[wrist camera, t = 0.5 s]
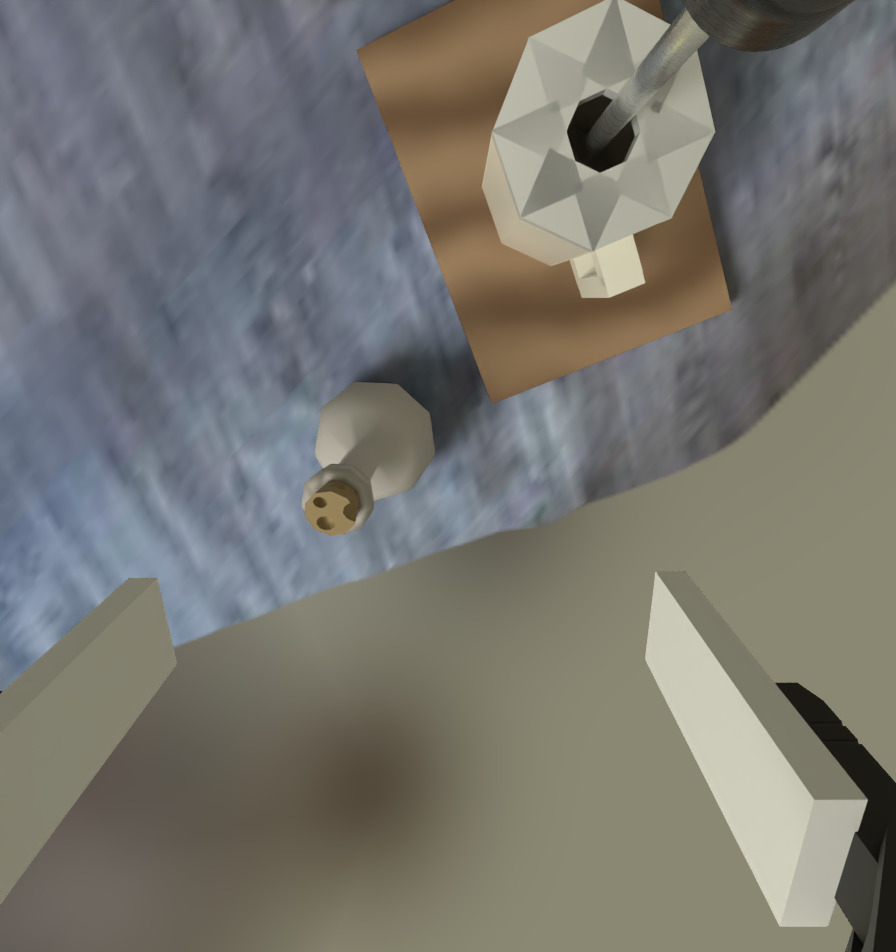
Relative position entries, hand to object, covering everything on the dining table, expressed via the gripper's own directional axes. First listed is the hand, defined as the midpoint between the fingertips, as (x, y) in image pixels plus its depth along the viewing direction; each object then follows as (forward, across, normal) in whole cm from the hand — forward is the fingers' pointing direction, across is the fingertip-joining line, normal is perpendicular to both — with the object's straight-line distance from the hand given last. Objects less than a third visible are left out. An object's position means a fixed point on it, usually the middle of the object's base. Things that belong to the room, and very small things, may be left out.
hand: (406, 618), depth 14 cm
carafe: (+28, +9, +13) cm, 32 cm away
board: (+30, +8, +14) cm, 34 cm away
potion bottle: (+30, -5, -2) cm, 30 cm away
